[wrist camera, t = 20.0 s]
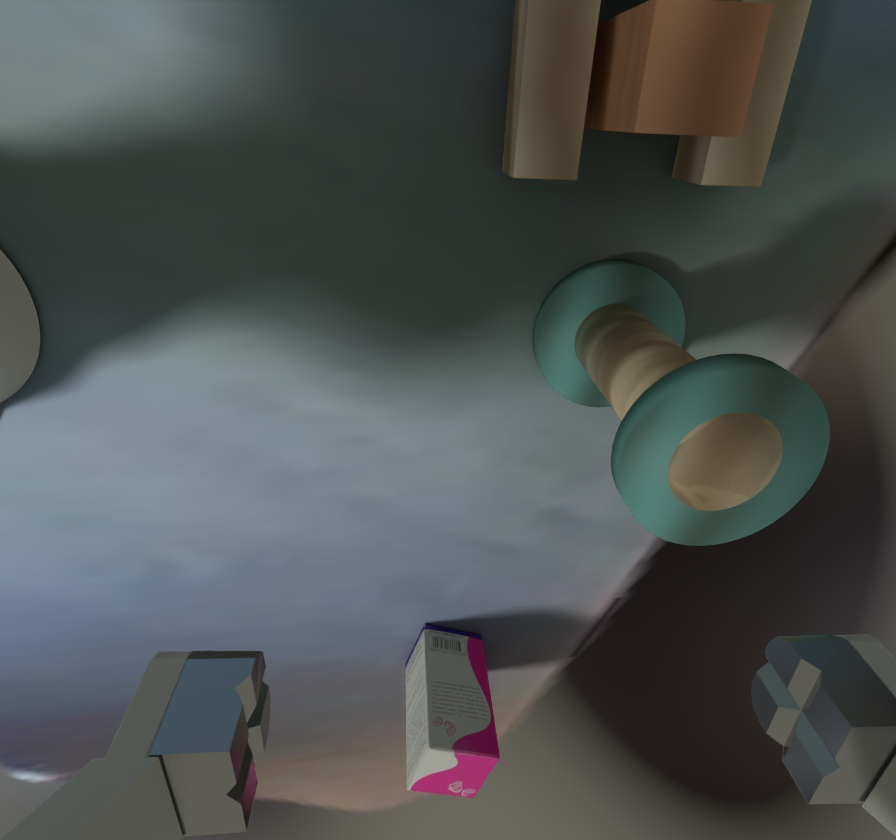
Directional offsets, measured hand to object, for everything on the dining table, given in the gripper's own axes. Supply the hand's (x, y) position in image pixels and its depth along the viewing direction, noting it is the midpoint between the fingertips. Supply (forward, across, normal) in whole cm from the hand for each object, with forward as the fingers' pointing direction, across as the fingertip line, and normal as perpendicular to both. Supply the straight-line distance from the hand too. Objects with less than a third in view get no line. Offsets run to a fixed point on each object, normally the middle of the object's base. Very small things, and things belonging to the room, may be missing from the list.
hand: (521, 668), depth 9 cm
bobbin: (+31, -12, +5) cm, 34 cm away
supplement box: (+31, -2, +36) cm, 48 cm away
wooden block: (+31, -11, -10) cm, 35 cm away
